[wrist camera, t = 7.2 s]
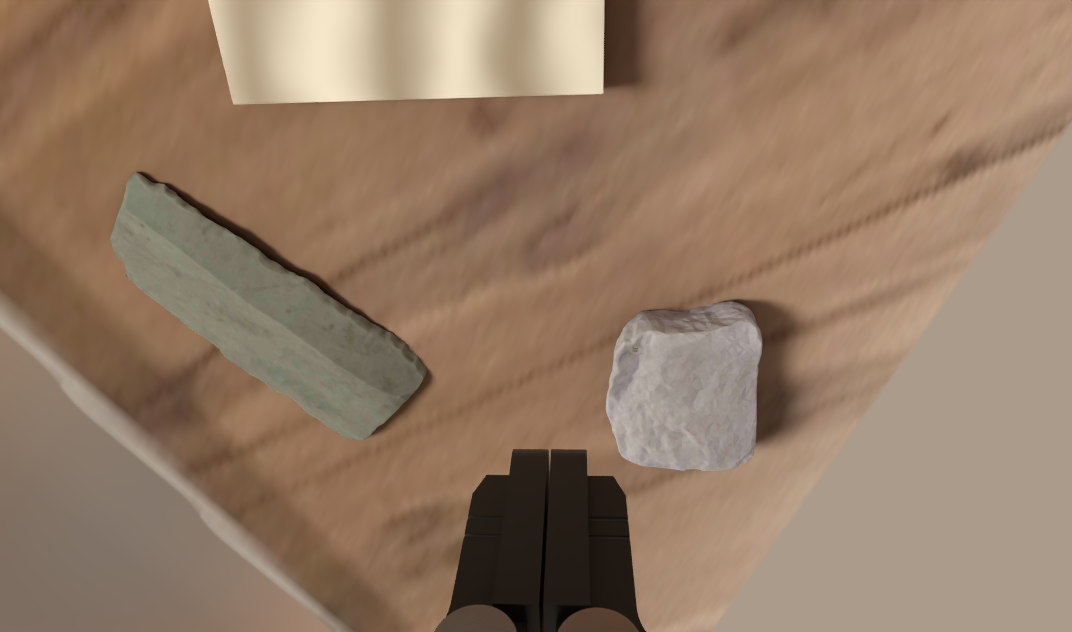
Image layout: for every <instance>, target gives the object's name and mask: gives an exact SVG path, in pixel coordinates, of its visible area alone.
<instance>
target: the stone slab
mask: <svg viewBox="0 0 1072 632" xmlns="http://www.w3.org/2000/svg"><path fill="white" fill-rule="evenodd" d="M110 240H111V243H112V246H113V249H114V251H115V253H116V256H117V257H118V258H120V259H121V260H122V261H123V262H124V264H125V267H126V272H127V276H128V278H129V279H130V280H131V281H132V282H133V283H134V284H136V285H137V286H138V287H139V288H140V289H141V290H142V291H143V292H144V293H145V294H147V295H148V296H149V297H151V298H152V299H154V300H155V301H156V302H158V303H159V304H161V305H162V306H163V307H164V308H165V309H167V310H168V311H169V312H171V313H172V314H173V315H175V316H176V317H177V318H179V319H180V320H181V321H182V322H183V323H185V324H186V325H187V326H188V327H189V328H191V329H192V330H193V331H194V332H196V333H198V334H199V335H201V336H203V337H204V338H206V339H208V340H209V341H210V342H212V343H213V344H214V345H215V346H217V347H218V348H219V349H220V351H221V352H222V354H223V355H224V356H225V357H226V358H227V359H229V360H230V361H232V362H233V363H235V364H236V365H238V366H239V367H241V368H242V369H244V370H245V371H246V372H247V373H249V374H250V375H252V376H254V377H256V378H258V379H260V380H262V381H263V382H265V383H266V384H267V385H268V386H269V387H270V388H271V389H272V390H273V391H277V392H279V393H281V394H284V395H287V396H289V397H291V398H292V399H293V400H295V401H296V402H297V403H298V404H299V405H300V406H301V407H302V408H303V409H304V410H305V411H306V412H307V413H308V414H310V415H311V416H313V417H315V418H317V419H319V420H320V421H321V422H323V423H324V424H325V425H326V426H328V427H329V428H330V429H332V430H334V431H336V432H338V433H340V434H341V435H342V436H343V437H347V438H352V439H357V440H361V441H362V440H364V439H366V438H368V437H369V436H370V435H371V434H372V433H373V432H374V431H375V430H376V429H377V427H378V426H380V425H382V424H384V423H385V422H386V421H387V420H388V419H389V418H390V417H391V416H392V415H393V414H394V413H395V412H396V411H397V410H398V409H399V408H400V406H401V405H402V404H403V403H405V402H406V401H407V400H408V399H409V397H410V396H411V395H412V394H413V393H414V392H415V391H416V390H417V389H418V388H419V386H420V384H421V382H422V381H423V379H424V377H425V375H426V373H427V370H426V368H425V366H424V365H423V364H422V363H421V361H420V359H419V357H418V355H416V354H414V353H413V352H411V351H410V349H409V348H408V346H407V344H406V342H404V341H402V340H400V339H398V338H397V337H396V336H395V335H394V334H393V333H391V332H389V331H386V330H384V329H383V328H381V327H379V326H377V325H375V324H372V323H370V322H369V321H368V320H367V319H365V318H364V317H363V316H360V315H357V314H356V313H355V312H353V311H352V310H350V309H347V308H346V307H345V306H343V305H342V304H341V303H339V302H338V301H336V300H334V299H333V298H331V297H330V296H328V295H327V294H325V293H324V292H323V291H322V290H321V289H320V288H319V287H318V286H316V285H315V284H314V283H312V282H311V281H309V280H308V279H307V278H304V277H300V276H298V275H296V274H295V273H294V272H290V271H288V270H286V269H284V268H283V267H282V266H281V265H280V264H278V263H277V262H275V261H272V260H270V259H268V258H267V257H266V256H265V255H264V254H263V253H262V252H261V251H260V250H258V249H257V248H255V247H253V246H252V245H250V244H249V243H247V242H246V241H245V240H243V239H242V238H240V237H238V236H236V235H234V234H233V233H232V232H230V231H229V230H227V229H226V228H224V227H221V226H219V225H217V224H216V223H214V222H213V221H211V220H209V219H207V218H205V217H204V216H203V215H202V214H201V213H200V212H199V210H198V209H196V208H194V207H192V206H190V205H189V204H188V203H187V202H185V201H183V200H182V198H180V197H178V196H177V195H176V193H175V192H174V191H172V190H170V189H169V188H167V187H166V186H165V185H164V184H160V183H157V184H156V183H153V182H151V181H149V180H148V179H147V178H145V177H144V176H142V175H141V174H139V173H137V172H136V173H133V174H132V175H131V176H130V178H129V179H128V181H127V186H126V191H125V195H124V200H123V203H122V205H121V207H120V210H119V213H118V216H117V219H116V222H115V226H114V230H113V233H112V235H111V237H110Z"/></svg>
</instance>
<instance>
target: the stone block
mask: <svg viewBox="0 0 1072 632" xmlns="http://www.w3.org/2000/svg"><path fill="white" fill-rule="evenodd" d="M761 355H762V336H761V331H760V329H759V327H758V325H757V323H756V319H755V317H754V314H753V312H752V311H751V310H750V309H749V308H747V307H746V306H745V305H743V304H740V303H737V302H733V301H729V302H720V303H717V304H710V305H707V306H704V307H698V308H694V309H691V310H690V311H684V312H677V311H668V310H654V311H643V312H640V313H639V314H638V315H637V316H635V317H634V318H632V319H631V320H630V321H629V322H628V323H627V324H626V325H625V327H624V328H623V330H622V333H621V335H620V336H619V338H618V340H617V342H616V346H615V349H614V361H613V367H612V373H611V375H610V379H609V389H608V392H607V401H606V412H607V415H608V418H609V420H610V423H611V424H612V432H613V434H614V435H615V437H616V441H617V446H618V451H619V452H620V454H621V455H622V456H623V457H624V458H625V459H627V460H628V461H631V462H633V463H636V464H639V465H642V466H650V467H660V468H670V469H677V470H682V471H683V470H688V469H699V470H704V471H723V470H728V469H732V468H736V467H738V466H739V465H740V464H741V463H742V462H747V461H748V460H749V459H750V458H751V457H752V456H753V453H754V447H755V442H756V424H757V376H758V364H759V361H760V358H761Z"/></svg>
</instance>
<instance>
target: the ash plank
mask: <svg viewBox="0 0 1072 632" xmlns="http://www.w3.org/2000/svg"><path fill="white" fill-rule="evenodd" d="M208 2H209V6H210V10H211V14H212V18H213V22H214V26H215V31H216V35H217V39H218V43H219V47H220V51H221V55H222V60H223V64H224V68H225V72H226V76H227V80H228V84H229V89H230V93H231V97H232V101H233V104H266V103H300V102H335V101H369V100H404V99H438V98H473V97H507V96H542V95H576V94H603V71H604V0H208Z"/></svg>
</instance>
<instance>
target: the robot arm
mask: <svg viewBox="0 0 1072 632" xmlns="http://www.w3.org/2000/svg"><path fill="white" fill-rule="evenodd" d="M434 632H646V631H645V630H644V628H643V626H642V624H641V622H640V620H639V617H638V613H637V607H636V597H635V586H634V576H633V566H632V556H631V545H630V535H629V525H628V515H627V505H626V495H625V494H624V492H623V491H622V489H621V488H620V486H619V484H618V483H617V481H616V480H615V478H614V477H613V476H587V450H563V449H551V462H550V470H549V450H544V449H513V452H512V458H511V466H510V473H509V475H486V477H485V478H484V479H483V481H482V482H481V483H480V485H479V486H478V487H477V489H476V490H475V491H474V493H473V494H472V499H471V504H470V509H469V514H468V520H467V525H466V530H465V538H464V540H463V545H462V550H461V555H460V560H459V565H458V570H457V575H456V580H455V585H454V590H453V595H452V600H451V605H450V608H449V611H448V613H447V616H446V617H445V618H444V619H443V620H442V621H441V622H440V624H439V625H438V626H437V628H436V629H435V631H434Z"/></svg>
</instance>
